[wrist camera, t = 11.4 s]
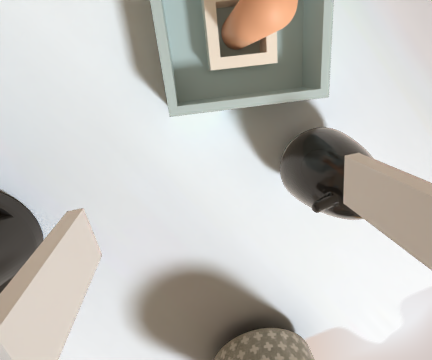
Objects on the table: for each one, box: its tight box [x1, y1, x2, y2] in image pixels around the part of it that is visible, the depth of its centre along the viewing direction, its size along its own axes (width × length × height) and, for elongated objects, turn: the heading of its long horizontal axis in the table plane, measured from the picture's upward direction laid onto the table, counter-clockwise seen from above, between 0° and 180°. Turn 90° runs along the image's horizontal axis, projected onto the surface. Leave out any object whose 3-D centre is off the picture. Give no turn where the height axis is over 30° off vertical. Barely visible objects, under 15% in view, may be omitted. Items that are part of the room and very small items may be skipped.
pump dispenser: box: [280, 127, 374, 220], centre depth 32 cm, size 10×10×15 cm
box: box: [150, 0, 334, 117], centre depth 29 cm, size 18×16×6 cm
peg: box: [221, 0, 298, 50], centre depth 24 cm, size 4×4×14 cm
